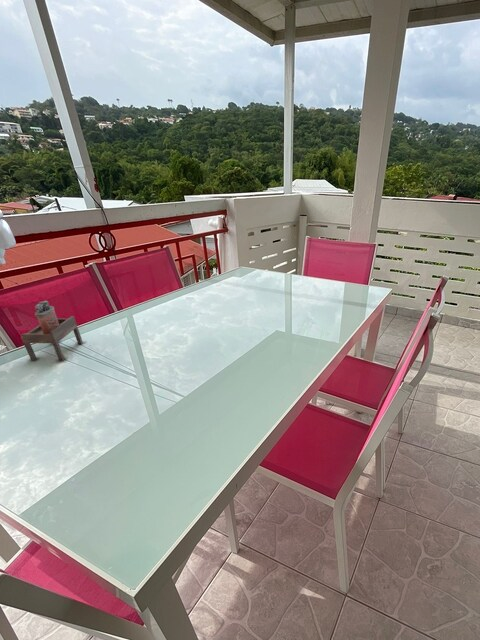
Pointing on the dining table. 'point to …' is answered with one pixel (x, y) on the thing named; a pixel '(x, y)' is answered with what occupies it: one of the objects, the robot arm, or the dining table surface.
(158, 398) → the dining table surface
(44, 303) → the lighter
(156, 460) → the dining table surface
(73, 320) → the stand
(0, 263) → the robot arm
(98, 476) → the dining table surface
